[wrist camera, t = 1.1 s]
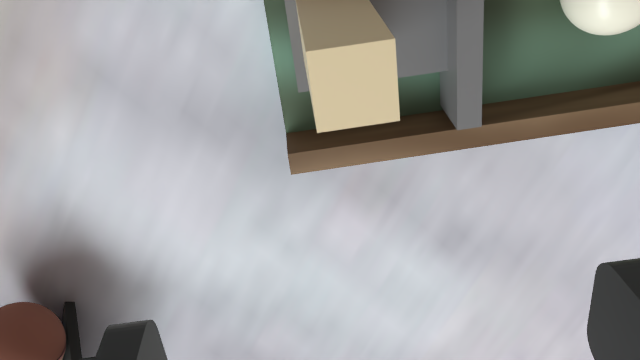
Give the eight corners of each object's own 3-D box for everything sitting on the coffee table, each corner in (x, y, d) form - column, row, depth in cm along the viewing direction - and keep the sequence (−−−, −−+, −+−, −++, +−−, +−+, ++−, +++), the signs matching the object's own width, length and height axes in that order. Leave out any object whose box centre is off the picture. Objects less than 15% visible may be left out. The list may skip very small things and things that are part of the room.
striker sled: (269, -101, 26) (270, -77, 17) (462, -129, 26) (556, -118, 17) (303, 125, 31) (317, 226, 23) (462, 101, 31) (533, 194, 23)
